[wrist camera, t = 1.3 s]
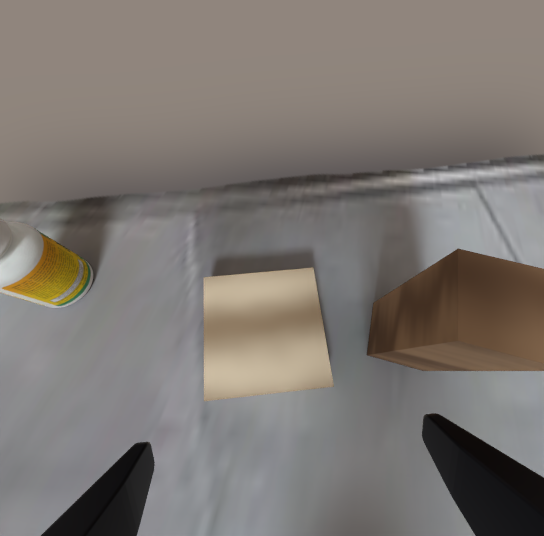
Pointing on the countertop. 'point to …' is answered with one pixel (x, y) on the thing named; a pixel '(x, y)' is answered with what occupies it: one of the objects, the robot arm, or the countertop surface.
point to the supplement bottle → (40, 267)
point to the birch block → (263, 334)
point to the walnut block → (463, 317)
